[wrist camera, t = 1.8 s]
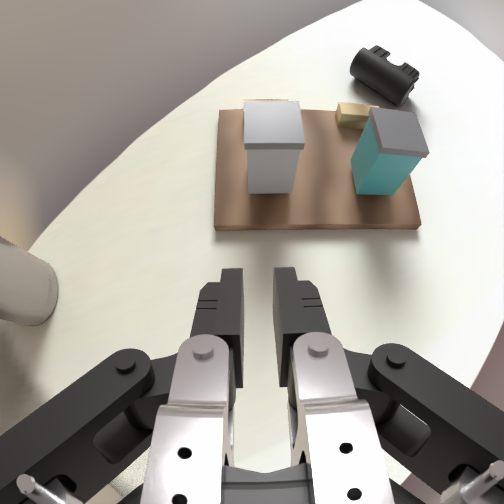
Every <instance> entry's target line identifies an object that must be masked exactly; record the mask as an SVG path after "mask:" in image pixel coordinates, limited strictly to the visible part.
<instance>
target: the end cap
mask: <svg viewBox="0 0 504 504" xmlns="http://www.w3.org/2000/svg"><path fill="white" fill-rule="evenodd" d="M389 55H390V53H389V52H388V51H386V50H384V49H383V48H381V47H379V46H377V45H376V46H374V47H373V48H371V49H370V50H367V49H366V48H362V49H361V50H360V51H359V52H358V53H357V54H356V56H355V57H354V59H353V61H352V63H351V66H350V74H351V75H352V76H354V77H355V78H356V79H358V80H360V81H361V82H363V83H364V84H366V85H367V86H369V87H371V88H372V89H374V90H375V91H377V92H378V93H380V94H381V95H383V96H384V97H386V98H387V99H388V100H390V101H391V102H393V103H394V104H396V105H397V106H402V105H403V104H404V102H405V101H406V99H407V97H408V95H409V93H410V92H411V91H412V90H413V89H414V83H415V82H416V81H417V80H418V79H419V78H418V77H419V72H418V71H417V70H416V69H415V68H413V67H411V66H410V65H409V64H407V63H404V64H403V65H401V66H396V65H394V64H392V63H390V62H389V61H388V60H387V57H388V56H389Z"/></svg>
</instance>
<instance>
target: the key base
mask: <svg viewBox="0 0 504 504" xmlns="http://www.w3.org/2000/svg"><path fill="white" fill-rule="evenodd" d="M244 101H289V100H280V99H254V100H243V109H235V110H219V123H218V141H217V161H216V184H215V212H214V227H215V230H216V231H218V230H268V229H417V228H418V227H419V226H421V220H420V215H419V211H418V206H417V202H416V197H415V193H414V189H413V185H412V181H411V178H410V174H409V176H408V177H407V178H406V180H405V181H404V182H403V183H402V185H401V186H400V187H399V189H398V190H397V191H396V192H395V194H394V195H367V194H356V188H355V182H354V177H353V172H352V167H351V161H350V159H351V157H352V155H353V153H354V150H355V148H356V146H357V144H358V141H359V139H360V137H361V135H362V132H363V130H364V128H365V126H366V123H367V121H368V119H369V114H368V112H369V110H370V107H377V108H379V106H373V105H364V104H354V103H343V102H339V104H338V107H337V110H336V111H323V110H301V109H300V111H301V118H302V125H303V132H304V139H305V146H304V150H301V151H300V156H299V161H298V166H297V170H296V175H295V180H294V184H293V189H292V193H269V194H248V168H247V150H245V147H244Z"/></svg>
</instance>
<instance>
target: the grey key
mask: <svg viewBox="0 0 504 504" xmlns="http://www.w3.org/2000/svg"><path fill="white" fill-rule="evenodd" d="M304 146H305V139H304V132H303V125H302V118H301V111H300V105H299V102H298V101H244V147H245V150H247V168H248V194H269V193H292V189H293V184H294V180H295V175H296V170H297V166H298V161H299V156H300V151H301V150H304Z"/></svg>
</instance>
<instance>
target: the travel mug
mask: <svg viewBox="0 0 504 504" xmlns="http://www.w3.org/2000/svg"><path fill="white" fill-rule="evenodd" d="M122 499H123V498H122V496H121V495H120V494H119V493H118V492H117V491H116V490H115V489H114V488H113V487H111V486H110V485H109V484H107V485H106V486H105V487H104V488H103V489H102V490H100V491H99V492H98V493H97V494H96V495H95V496H93V497H92V498H91V499H90V500H89V501H87V502H86V503H85V504H117V503H118V502H119V501H121V500H122Z"/></svg>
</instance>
